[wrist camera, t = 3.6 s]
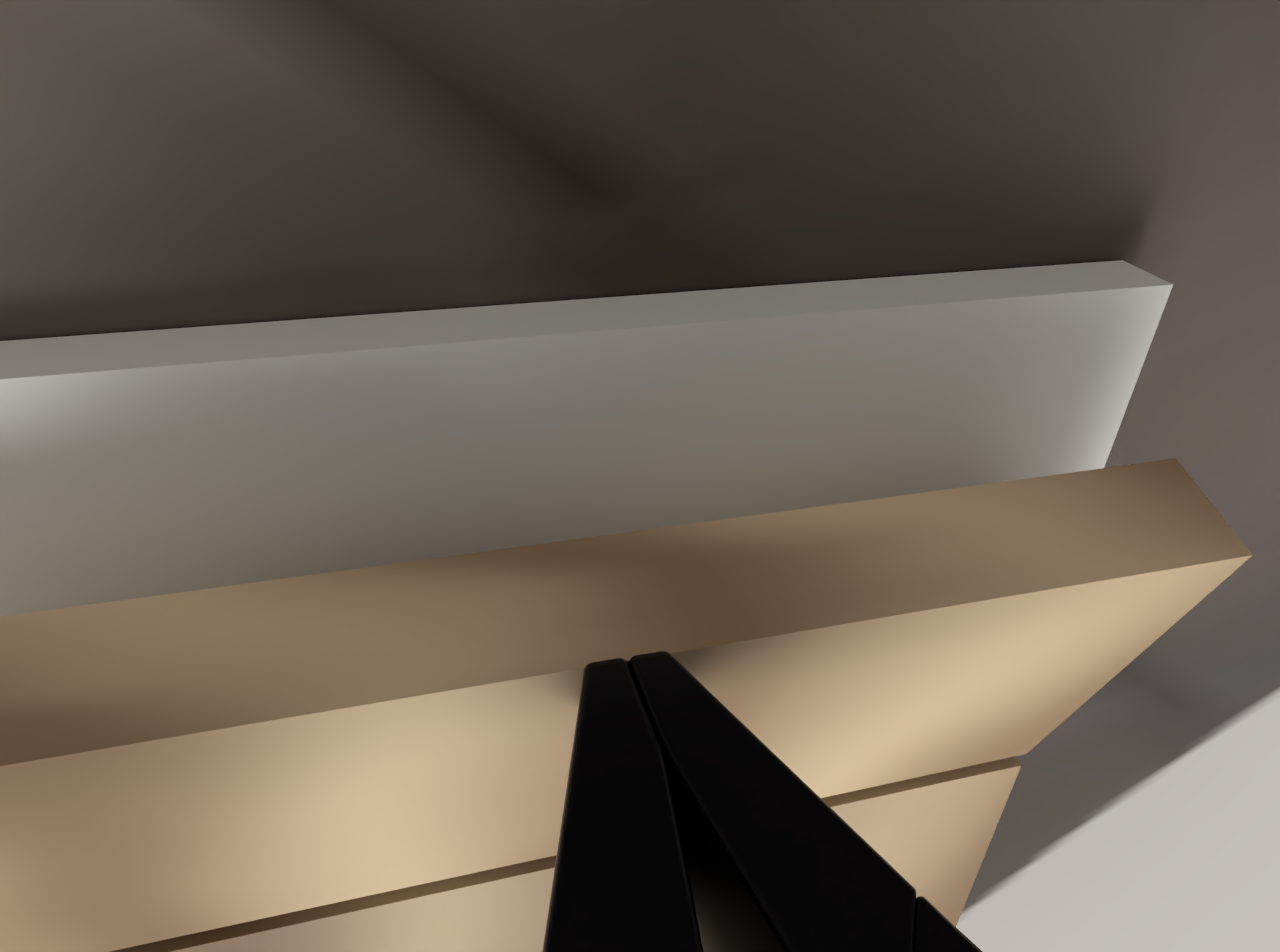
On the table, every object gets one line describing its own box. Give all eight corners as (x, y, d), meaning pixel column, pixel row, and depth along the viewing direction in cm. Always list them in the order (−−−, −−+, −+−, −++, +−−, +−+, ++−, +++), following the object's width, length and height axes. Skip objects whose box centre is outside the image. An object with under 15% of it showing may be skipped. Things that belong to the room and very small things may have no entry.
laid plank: (172, 1054, 16) (156, 1150, 15) (73, 877, 13) (41, 979, 12) (913, 873, 19) (950, 939, 18) (973, 700, 16) (1021, 765, 15)
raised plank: (53, 851, 12) (34, 968, 11) (-227, 647, 8) (-298, 816, 7) (984, 674, 16) (1026, 753, 15) (1175, 458, 11) (1252, 555, 10)
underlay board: (133, 1024, 17) (120, 1081, 16) (-265, 361, 9) (-326, 405, 8) (926, 838, 20) (948, 876, 20) (1122, 260, 13) (1172, 284, 12)
